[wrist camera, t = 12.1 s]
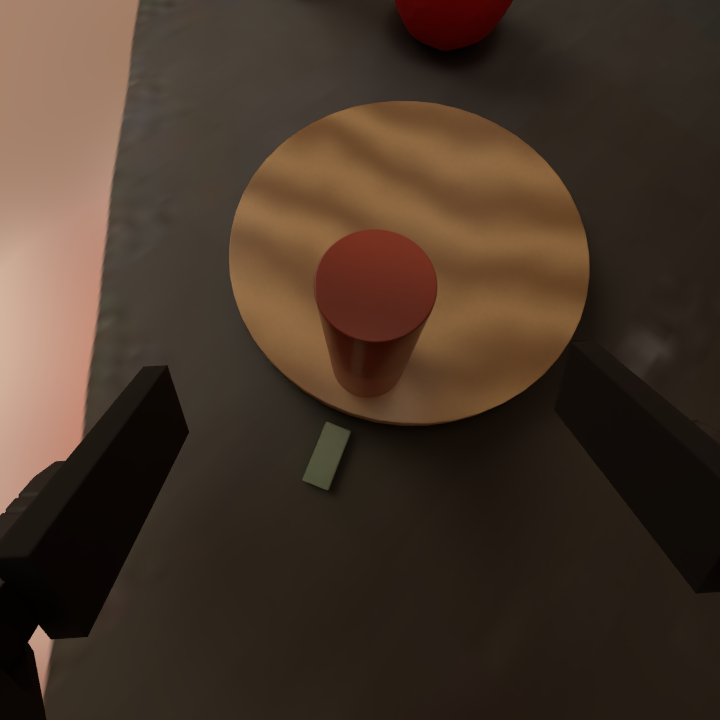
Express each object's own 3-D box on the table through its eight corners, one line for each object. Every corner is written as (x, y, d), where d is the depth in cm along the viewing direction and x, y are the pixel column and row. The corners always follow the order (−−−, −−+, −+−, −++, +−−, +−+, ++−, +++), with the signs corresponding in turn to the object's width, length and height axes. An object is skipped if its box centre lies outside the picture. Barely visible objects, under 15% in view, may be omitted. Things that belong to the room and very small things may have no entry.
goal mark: (326, 422, 24) (326, 421, 24) (351, 431, 24) (351, 430, 23) (303, 480, 23) (301, 480, 23) (328, 490, 23) (327, 491, 23)
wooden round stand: (306, 82, 29) (277, -144, 18) (605, 164, 28) (766, -33, 17) (175, 356, 24) (23, 262, 13) (539, 480, 22) (714, 491, 11)
